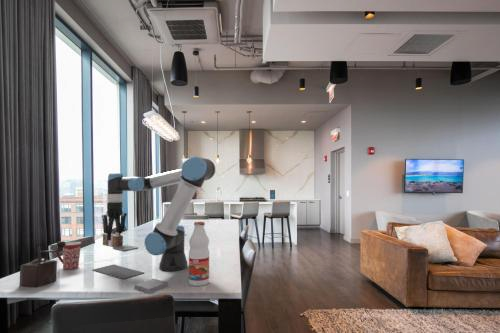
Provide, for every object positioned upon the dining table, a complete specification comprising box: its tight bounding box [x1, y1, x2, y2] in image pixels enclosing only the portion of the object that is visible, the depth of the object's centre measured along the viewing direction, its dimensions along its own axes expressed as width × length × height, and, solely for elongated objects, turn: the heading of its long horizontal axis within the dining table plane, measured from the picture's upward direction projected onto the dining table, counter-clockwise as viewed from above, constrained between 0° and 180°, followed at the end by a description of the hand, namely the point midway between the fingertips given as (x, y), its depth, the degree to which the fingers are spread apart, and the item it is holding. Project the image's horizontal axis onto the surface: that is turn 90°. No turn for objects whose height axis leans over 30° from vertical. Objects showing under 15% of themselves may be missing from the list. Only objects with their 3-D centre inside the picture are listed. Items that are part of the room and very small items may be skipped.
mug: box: [55, 241, 82, 271], centre depth 162 cm, size 13×9×14 cm
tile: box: [133, 278, 168, 294], centre depth 131 cm, size 10×2×10 cm
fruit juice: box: [188, 221, 210, 287], centre depth 137 cm, size 9×9×28 cm
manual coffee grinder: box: [18, 240, 67, 288], centre depth 140 cm, size 16×11×18 cm
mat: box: [92, 263, 145, 281], centre depth 154 cm, size 12×28×1 cm, turn 56°
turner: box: [102, 233, 139, 252], centre depth 155 cm, size 24×8×6 cm, turn 56°
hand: (113, 245), depth 157 cm, fingers closed on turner, 3 cm apart
